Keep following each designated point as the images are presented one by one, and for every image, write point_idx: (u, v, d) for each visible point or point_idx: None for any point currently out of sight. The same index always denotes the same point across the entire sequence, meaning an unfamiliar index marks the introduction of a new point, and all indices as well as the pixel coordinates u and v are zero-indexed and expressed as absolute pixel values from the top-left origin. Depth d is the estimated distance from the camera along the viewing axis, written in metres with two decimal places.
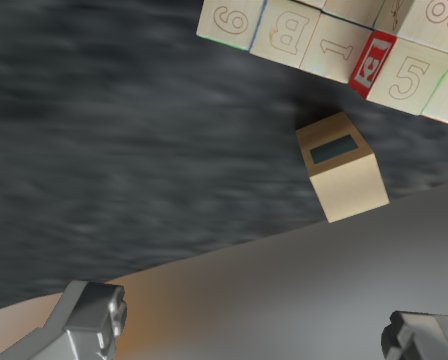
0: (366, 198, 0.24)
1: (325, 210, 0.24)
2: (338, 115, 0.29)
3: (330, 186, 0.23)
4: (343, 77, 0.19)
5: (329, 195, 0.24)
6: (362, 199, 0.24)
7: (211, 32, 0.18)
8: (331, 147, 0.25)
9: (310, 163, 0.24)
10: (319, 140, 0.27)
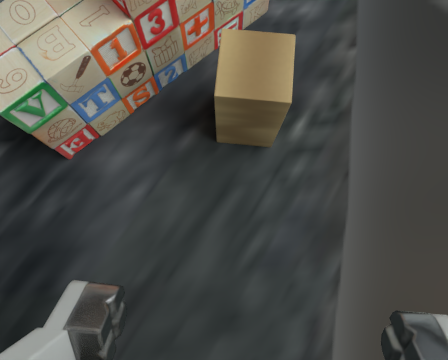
0: (276, 53, 0.20)
1: (269, 99, 0.19)
2: None
3: (239, 81, 0.19)
4: (123, 20, 0.20)
5: (250, 86, 0.19)
6: (275, 57, 0.20)
7: (7, 101, 0.18)
8: None
9: None
10: None
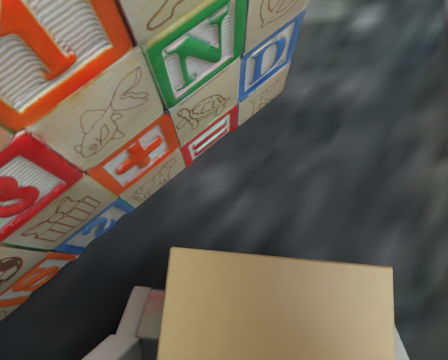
0: (337, 336, 0.06)
1: None
2: None
3: None
4: None
5: None
6: (335, 352, 0.06)
7: None
8: None
9: None
10: None
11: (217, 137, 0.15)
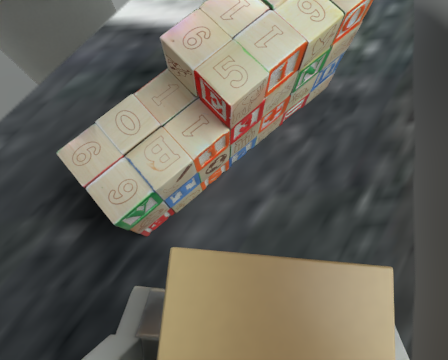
0: (337, 336, 0.06)
1: None
2: None
3: None
4: (221, 130, 0.21)
5: None
6: (336, 352, 0.06)
7: (120, 211, 0.20)
8: None
9: None
10: None
11: (295, 110, 0.30)
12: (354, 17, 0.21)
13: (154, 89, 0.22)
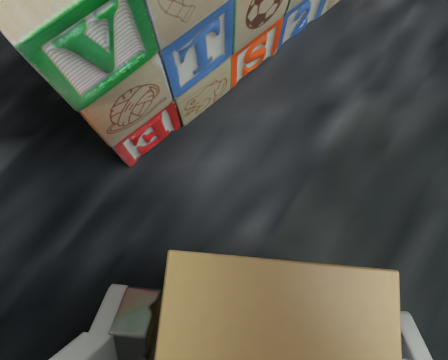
0: (341, 343, 0.06)
1: None
2: None
3: None
4: None
5: None
6: (340, 359, 0.06)
7: (36, 15, 0.07)
8: None
9: None
10: None
11: None
12: None
13: None
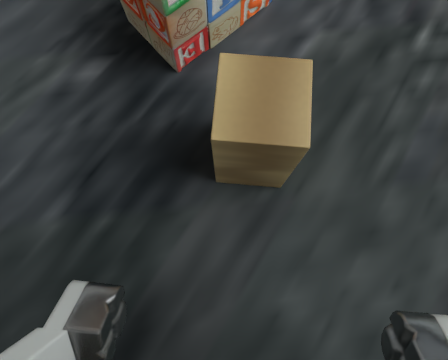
0: (288, 83, 0.15)
1: (282, 143, 0.15)
2: None
3: (242, 120, 0.15)
4: None
5: (257, 127, 0.15)
6: (287, 89, 0.15)
7: None
8: None
9: None
10: None
11: None
12: None
13: None
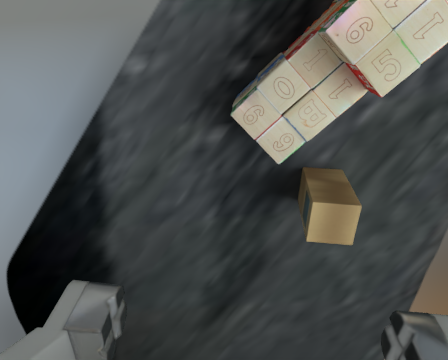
0: (346, 217, 0.31)
1: (339, 243, 0.32)
2: (302, 173, 0.38)
3: (321, 233, 0.32)
4: (362, 91, 0.26)
5: (328, 236, 0.32)
6: (346, 220, 0.31)
7: (282, 156, 0.29)
8: (305, 208, 0.34)
9: (304, 228, 0.34)
10: (302, 203, 0.36)
11: None
12: None
13: (305, 55, 0.25)
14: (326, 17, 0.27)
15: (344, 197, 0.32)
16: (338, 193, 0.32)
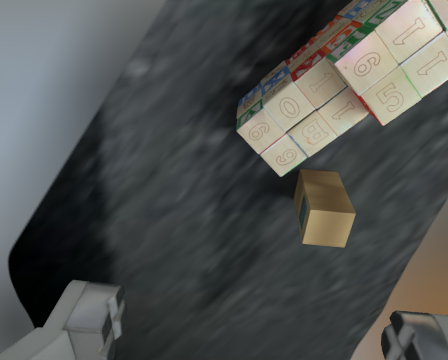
0: (341, 223, 0.33)
1: (332, 245, 0.35)
2: (299, 175, 0.39)
3: (317, 237, 0.34)
4: (363, 113, 0.27)
5: (323, 239, 0.34)
6: (340, 225, 0.33)
7: (285, 169, 0.30)
8: (302, 211, 0.36)
9: (300, 230, 0.36)
10: (299, 205, 0.38)
11: None
12: None
13: (312, 78, 0.26)
14: (332, 37, 0.27)
15: (339, 204, 0.34)
16: (334, 199, 0.34)
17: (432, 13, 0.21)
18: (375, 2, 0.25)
